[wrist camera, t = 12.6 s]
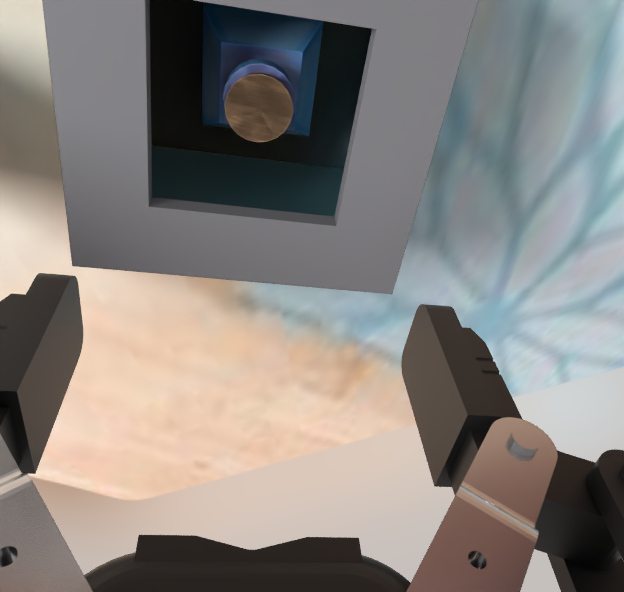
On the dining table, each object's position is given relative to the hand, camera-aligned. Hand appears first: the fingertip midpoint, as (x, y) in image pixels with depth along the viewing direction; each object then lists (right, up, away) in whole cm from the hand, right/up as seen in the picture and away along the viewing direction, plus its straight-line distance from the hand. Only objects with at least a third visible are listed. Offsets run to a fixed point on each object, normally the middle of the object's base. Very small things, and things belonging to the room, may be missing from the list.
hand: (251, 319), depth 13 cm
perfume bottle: (-2, +16, +22) cm, 28 cm away
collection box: (-2, +16, +22) cm, 28 cm away
